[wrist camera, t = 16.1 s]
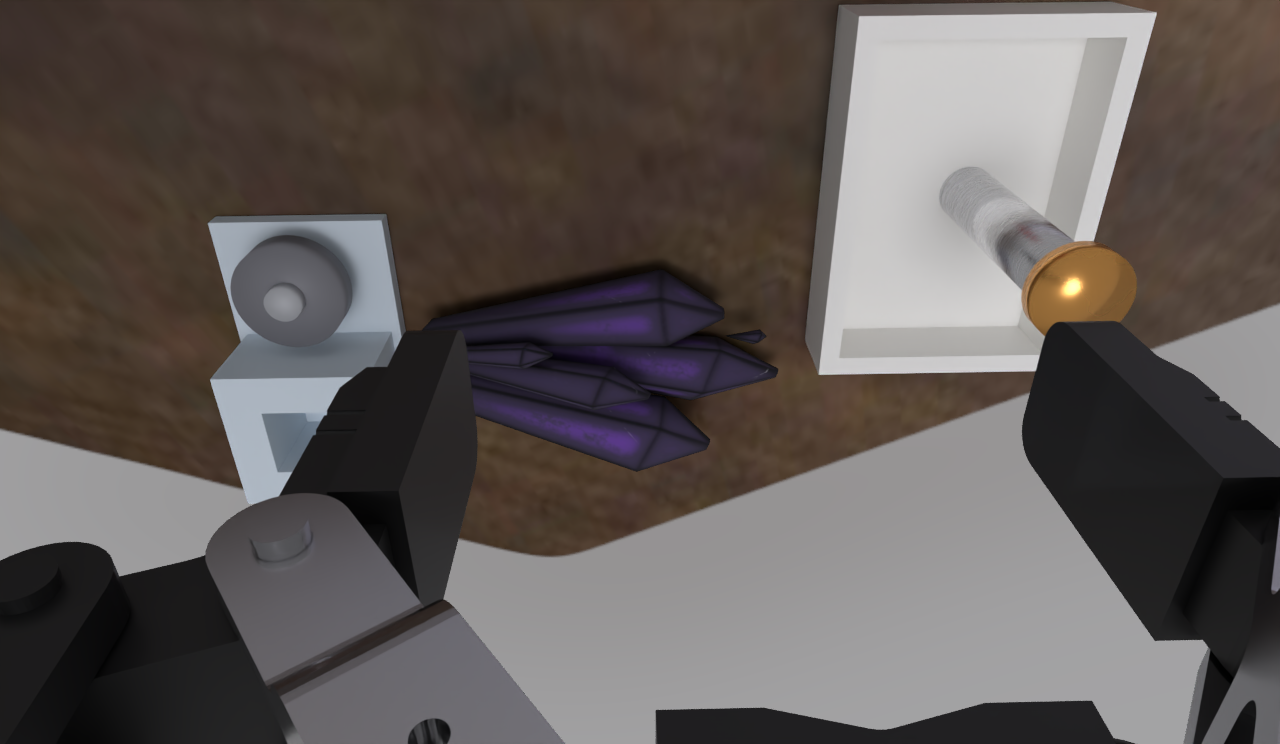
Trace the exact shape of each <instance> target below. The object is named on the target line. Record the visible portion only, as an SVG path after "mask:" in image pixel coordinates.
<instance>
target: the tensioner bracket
mask: <svg viewBox="0 0 1280 744" xmlns="http://www.w3.org/2000/svg"><path fill="white" fill-rule="evenodd" d="M208 225H209V229H210V233H211V236H212V240H213V243H214V247H215V250H216V254H217V258H218V261H219V265H220V268H221V272H222V276H223V279H224V283H225V286H226V290H227V294H228V297H229V301H230V304H231V308H232V311H233V315H234V319H235V322H236V326H237V329H238V333H239V337H240V340H241V343H240V344H239V345H238V346H237V348H236V349H235V350H234V351H233V352H232V354H231V355H230V356H229V357H228V358H227V360H226V361H225V362H224V363H223V364H222V366H221V367H220V368H219V369H218V370H217V372H216V373H215V374H214V375H213V376H212V378H211V379H210V381H211V385H212V388H213V391H214V394H215V398H216V401H217V404H218V407H219V411H220V414H221V417H222V420H223V424H224V427H225V430H226V433H227V437H228V440H229V443H230V446H231V450H232V453H233V456H234V459H235V463H236V466H237V469H238V472H239V476H240V479H241V482H242V485H243V489H244V492H245V495H246V498H247V502H248V504H251V503H252V504H253V503H254V504H256V503H259V502H261V501H264V500H267V499H270V498H274V497H278V496H279V495H280V493H281V491H282V490H283V488H284V486H285V484H286V482H287V481H288V479H289V477H290V475H291V474H292V472H293V470H294V468H295V466H296V465H297V463H298V461H299V459H300V457H301V456H302V454H303V452H304V450H305V449H306V447H307V445H308V443H309V441H310V440H311V438H312V436H313V435H316V429H317V427H318V425H319V424H320V422H321V420H322V418H323V416H324V415H327V409H328V408H329V406H330V404H331V402H332V400H333V399H334V397H335V395H336V393H337V392H338V390H339V388H340V387H341V386H342V385H344V384H345V383H346V382H348V381H349V380H350V379H352V378H353V377H354V376H356V375H357V374H358V373H359V372H361V371H362V370H363V369H365V368H366V367H388V364H389V362H390V360H391V358H392V356H393V354H394V352H395V350H396V348H397V346H398V344H399V342H400V340H401V338H402V336H403V334H404V333H405V332H406V329H405V323H404V317H403V311H402V305H401V299H400V293H399V287H398V281H397V275H396V269H395V263H394V257H393V251H392V245H391V239H390V233H389V227H388V221H387V215H386V214H349V215H281V216H216V217H215V218H213V219H212V220H211V221H210V222H208Z"/></svg>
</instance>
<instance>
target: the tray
mask: <svg viewBox="0 0 1280 744" xmlns="http://www.w3.org/2000/svg"><path fill="white" fill-rule="evenodd" d="M1156 14H1157V13H1156V12H1152V11H1148V10H1144V9H1140V8H1135V7H1131V6H1127V5H1123V4H1119V3H1115V2H1032V3H948V4H863V5H839V7H838V17H837V27H836V37H835V47H834V57H833V67H832V76H831V86H830V96H829V106H828V116H827V126H826V136H825V146H824V156H823V165H822V175H821V185H820V195H819V205H818V215H817V225H816V235H815V245H814V255H813V264H812V274H811V284H810V294H809V304H808V314H807V324H806V334H805V342H806V344H807V347H808V349H809V352H810V354H811V357H812V359H813V362H814V364H815V367H816V369H817V372H818V374H819V375H830V374H890V373H949V372H1008V371H1036V368H1037V364H1038V360H1039V357H1040V353H1041V349H1042V345H1043V341H1044V338H1045V336H1044V335H1043V334H1042V333H1041V332H1040V331H1039V330H1038V329H1037V328H1036V327H1035V326H1034V325H1033V324H1032V323H1031V322H1030V321H1029V319H1028V318H1027V317H1026V315H1025V313H1024V311H1023V308H1022V302H1021V294H1022V290H1021V289H1020V288H1019V287H1018V286H1017V285H1016V284H1015V283H1014V282H1013V281H1012V280H1011V279H1010V278H1009V277H1008V276H1007V275H1006V274H1005V273H1004V272H1003V271H1002V270H1001V269H1000V268H999V267H998V266H997V265H996V264H995V262H994V261H993V260H992V259H991V258H990V257H989V256H988V255H987V254H986V253H985V252H984V251H983V250H982V249H981V248H980V247H979V246H978V245H977V244H976V243H975V242H974V241H973V240H972V239H971V238H970V237H969V236H968V235H967V234H966V233H965V232H964V231H963V230H962V229H961V228H960V227H959V226H958V225H957V224H956V223H955V222H954V221H953V220H952V219H951V218H950V217H949V216H948V215H947V214H946V213H945V212H944V210H943V209H942V207H941V205H940V201H939V194H940V190H941V187H942V185H943V183H944V182H945V180H946V179H947V178H948V177H949V176H950V175H951V174H952V173H953V172H955V171H957V170H959V169H961V168H964V167H971V166H972V167H979V168H981V169H983V170H985V171H986V172H988V173H989V174H990V175H991V176H993V177H994V178H995V179H996V180H998V181H999V182H1000V183H1001V184H1003V185H1004V186H1005V187H1007V188H1008V189H1009V190H1010V191H1012V192H1013V193H1014V194H1015V195H1017V196H1018V197H1019V198H1020V199H1022V200H1023V201H1024V202H1026V203H1027V204H1028V205H1029V206H1031V207H1032V208H1033V209H1034V210H1036V211H1037V212H1038V213H1039V214H1041V215H1042V216H1043V217H1045V218H1046V219H1047V220H1048V221H1050V222H1051V223H1052V224H1053V225H1055V226H1056V227H1057V228H1058V229H1060V230H1061V231H1062V232H1064V233H1065V234H1066V235H1067V236H1069V237H1070V238H1071V239H1072V240H1074V241H1075V242H1077V241H1094V238H1095V234H1096V231H1097V227H1098V223H1099V220H1100V216H1101V213H1102V209H1103V205H1104V202H1105V198H1106V195H1107V191H1108V187H1109V184H1110V180H1111V176H1112V173H1113V169H1114V166H1115V162H1116V158H1117V155H1118V151H1119V148H1120V144H1121V140H1122V137H1123V133H1124V130H1125V126H1126V122H1127V119H1128V115H1129V111H1130V108H1131V104H1132V101H1133V97H1134V93H1135V90H1136V86H1137V83H1138V79H1139V75H1140V72H1141V68H1142V65H1143V61H1144V57H1145V54H1146V50H1147V46H1148V43H1149V39H1150V36H1151V32H1152V28H1153V25H1154V21H1155V18H1156Z"/></svg>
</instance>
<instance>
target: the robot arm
mask: <svg viewBox="0 0 1280 744" xmlns="http://www.w3.org/2000/svg"><path fill="white" fill-rule="evenodd" d="M1219 398H1220V397H1219V396H1218V395H1217V394H1216V393H1215V392H1213V391H1212V390H1211V389H1210V388H1209V387H1208V386H1206V385H1205V384H1204V383H1203V382H1202V381H1201V380H1199V379H1198V378H1197V377H1196V376H1195V375H1194V374H1192V373H1190V372H1188V371H1186V370H1184V369H1182V368H1180V367H1178V366H1176V365H1174V364H1172V363H1170V362H1168V361H1166V360H1164V359H1162V358H1160V357H1158V356H1157V355H1155V354H1154V353H1153V352H1152V351H1151V350H1150V349H1149V348H1148V347H1147V346H1145V345H1144V344H1143V343H1142V342H1141V341H1140V340H1139V339H1137V338H1136V337H1135V336H1134V335H1133V334H1132V333H1131V332H1129V331H1128V330H1127V329H1126V328H1125V327H1124V326H1123V325H1121V324H1120V323H1119V322H1116V321H1067V322H1056V323H1055V324H1053V325H1052V326H1051V327H1050V328H1049V330H1048V331H1047V333H1046V336H1045V338H1044V341H1043V345H1042V349H1041V353H1040V357H1039V360H1038V364H1037V368H1036V372H1035V376H1034V380H1033V383H1032V387H1031V391H1030V395H1029V399H1028V402H1027V407H1026V410H1025V414H1024V418H1023V425H1022V439H1023V446H1024V450H1025V453H1026V456H1027V458H1028V461H1029V462H1030V464H1031V466H1032V467H1033V468H1034V470H1035V471H1036V473H1037V474H1038V475H1039V477H1040V478H1041V480H1042V481H1043V483H1044V484H1045V485H1046V487H1047V488H1048V489H1049V491H1050V492H1051V494H1052V495H1053V497H1054V498H1055V500H1056V501H1057V502H1058V504H1059V505H1060V507H1061V508H1062V509H1063V511H1064V512H1065V514H1066V515H1067V517H1068V518H1069V520H1070V521H1071V522H1072V524H1073V525H1074V527H1075V528H1076V529H1077V531H1078V532H1079V534H1080V535H1081V537H1082V538H1083V539H1084V541H1085V542H1086V544H1087V545H1088V547H1089V548H1090V549H1091V551H1092V552H1093V553H1094V555H1095V556H1096V558H1097V559H1098V561H1099V562H1100V563H1101V565H1102V566H1103V568H1104V569H1105V570H1106V572H1107V574H1108V575H1109V576H1110V578H1111V579H1112V581H1113V582H1114V583H1115V585H1116V586H1117V588H1118V589H1119V591H1120V592H1121V593H1122V595H1123V596H1124V598H1125V599H1126V600H1127V602H1128V603H1129V605H1130V606H1131V607H1132V609H1133V610H1134V612H1135V613H1136V614H1137V616H1138V617H1139V619H1140V620H1141V622H1142V623H1143V624H1144V626H1145V627H1146V629H1147V630H1148V632H1149V633H1150V635H1151V636H1152V637H1153V639H1154V640H1155V641H1159V640H1203V641H1204V642H1205V643H1206V644H1207V646H1208V647H1209V648H1208V650H1207V652H1206V654H1205V656H1204V658H1203V660H1202V663H1201V665H1200V667H1199V670H1198V674H1197V678H1196V684H1195V688H1194V694H1193V699H1192V704H1191V709H1190V714H1189V719H1188V724H1187V729H1186V734H1185V739H1184V744H1280V448H1279V447H1278V446H1276V445H1275V444H1274V443H1273V442H1272V441H1271V440H1269V439H1268V438H1267V437H1266V436H1265V435H1264V434H1262V433H1261V432H1260V431H1259V430H1258V429H1256V428H1255V427H1254V426H1253V425H1252V424H1251V423H1250V422H1248V421H1247V420H1241V415H1240V414H1239V413H1238V412H1237V411H1236V410H1234V409H1233V408H1232V407H1231V406H1230V405H1229V404H1227V403H1226V402H1225V401H1220V400H1219ZM476 462H477V426H476V418H475V410H474V402H473V395H472V387H471V379H470V371H469V363H468V355H467V348H466V342H465V338H464V335H463V333H462V331H461V330H435V331H406V332H405V333H404V334H403V336H402V338H401V340H400V342H399V344H398V346H397V348H396V350H395V352H394V354H393V356H392V358H391V360H390V362H389V364H388V367H366V368H365V369H363V370H362V371H361V372H359V373H358V374H357V375H356V376H354V377H353V378H352V379H350V380H349V381H348V382H346V383H345V384H344V385H342V386H341V387H340V388H339V390H338V392H337V393H336V395H335V397H334V399H333V400H332V402H331V404H330V406H329V408H328V409H327V415H324V416H323V418H322V420H321V422H320V424H319V425H318V427H317V429H316V435H313V436H312V438H311V440H310V441H309V443H308V445H307V447H306V449H305V450H304V452H303V454H302V456H301V457H300V459H299V461H298V463H297V465H296V466H295V468H294V470H293V472H292V474H291V475H290V477H289V479H288V481H287V482H286V484H285V486H284V488H283V490H282V491H281V493H280V495H279V496H278V497H274V498H270V499H267V500H264V501H261V502H259V503H256V504H254V505H252V506H250V507H248V508H246V509H244V510H242V511H241V512H239V513H237V514H236V515H234V516H233V517H231V518H230V519H229V520H227V521H226V522H225V523H224V524H223V525H222V526H221V527H220V528H219V529H218V530H217V531H216V532H215V534H214V535H213V536H212V538H211V540H210V542H209V543H208V546H207V549H206V555H204V556H202V557H199V558H195V559H192V560H188V561H184V562H180V563H175V564H172V565H167V566H163V567H158V568H154V569H150V570H145V571H141V572H137V573H132V574H128V575H124V576H120V577H119V575H118V573H117V570H116V568H115V566H114V563H113V561H112V558H111V557H110V555H109V554H108V553H107V552H106V551H105V550H104V549H102V548H100V547H98V546H96V545H92V544H89V543H81V542H63V543H54V544H48V545H44V546H39V547H36V548H32V549H29V550H25V551H22V552H20V553H17V554H14V555H12V556H9V557H7V558H5V559H3V560H1V561H0V744H565V743H564V742H563V740H562V739H561V738H560V737H559V736H558V734H557V733H556V732H555V731H554V729H553V728H552V727H551V726H550V724H549V723H548V722H547V721H546V719H545V718H544V717H543V716H542V714H541V713H540V712H539V711H538V710H537V708H536V707H535V706H534V705H533V703H532V702H531V701H530V700H529V698H528V697H527V696H526V695H525V693H524V692H523V691H522V690H521V689H520V687H519V686H518V685H517V684H516V682H515V681H514V680H513V679H512V677H511V676H510V675H509V674H508V673H507V671H506V670H505V669H504V668H503V666H502V665H501V664H500V663H499V661H498V660H497V659H496V658H495V656H494V655H493V654H492V653H491V652H490V650H489V649H488V648H487V647H486V645H485V644H484V643H483V642H482V640H481V639H480V638H479V637H478V636H477V634H476V633H475V632H474V631H473V630H472V628H471V627H470V626H469V624H468V623H467V622H466V621H465V620H464V618H463V617H462V616H461V615H460V613H459V612H458V611H457V610H456V609H455V608H454V607H453V606H452V605H451V604H450V603H449V602H447V601H446V600H443V598H444V594H445V590H446V586H447V582H448V578H449V574H450V570H451V566H452V562H453V558H454V554H455V550H456V546H457V542H458V538H459V534H460V530H461V526H462V522H463V518H464V514H465V510H466V506H467V502H468V498H469V494H470V490H471V486H472V482H473V478H474V474H475V469H476ZM656 744H1135V743H1131V742H1128V741H1125V740H1120V739H1115V738H1113V737H1112V735H1111V733H1110V732H1109V730H1108V728H1107V726H1106V724H1105V723H1104V721H1103V719H1102V718H1101V716H1100V714H1099V712H1098V711H1097V709H1096V707H1095V706H1094V704H1093V702H1092V701H1060V702H1059V701H1057V702H1009V703H983V704H980V705H977V706H973V707H969V708H965V709H962V710H958V711H955V712H951V713H947V714H944V715H940V716H936V717H933V718H929V719H925V720H922V721H918V722H915V723H911V724H908V725H904V726H900V727H897V728H893V729H887V730H875V729H868V728H863V727H858V726H853V725H848V724H843V723H838V722H833V721H828V720H823V719H818V718H812V717H807V716H802V715H797V714H792V713H787V712H782V711H777V710H772V709H767V708H733V709H732V708H730V709H686V710H685V709H684V710H656Z"/></svg>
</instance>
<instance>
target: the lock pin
mask: <svg viewBox="0 0 1280 744" xmlns="http://www.w3.org/2000/svg"><path fill="white" fill-rule="evenodd" d="M939 201H940V205H941V207H942V209H943V210H944V212H945V213H946V214H947V215H948V216H949V217H950V218H951V219H952V220H953V221H954V222H955V223H956V224H957V225H958V226H959V227H960V228H961V229H962V230H963V231H964V232H965V233H966V234H967V235H968V236H969V237H970V238H971V239H972V240H973V241H974V242H975V243H976V244H977V245H978V246H979V247H980V248H981V249H982V250H983V251H984V252H985V253H986V254H987V255H988V256H989V257H990V258H991V259H992V260H993V261H994V262H995V264H996V265H997V266H998V267H999V268H1000V269H1001V270H1002V271H1003V272H1004V273H1005V274H1006V275H1007V276H1008V277H1009V278H1010V279H1011V280H1012V281H1013V282H1014V283H1015V284H1016V285H1017V286H1018V287H1019V288H1020V289H1021V290H1022V294H1021V302H1022V308H1023V311H1024V313H1025V315H1026V317H1027V318H1028V319H1029V321H1030V322H1031V323H1032V324H1033V325H1034V326H1035V327H1036V328H1037V329H1038V330H1039V331H1040V332H1041V333H1042V334H1043V335H1044V336H1046V333H1047V331H1048V330H1049V328H1050V327H1051V326H1052V325H1053V324H1055V323H1056V322H1067V321H1116V322H1120V321H1121V320H1122V319H1123V318H1124V316H1125V315H1126V314H1127V312H1128V311H1129V309H1130V307H1131V306H1132V304H1133V301H1134V298H1135V295H1136V289H1137V280H1136V275H1135V272H1134V270H1133V268H1132V266H1131V265H1130V264H1129V263H1128V261H1127V260H1125V259H1124V258H1123V257H1121V256H1120V255H1119V254H1117V253H1116V252H1115V251H1113V250H1112V249H1111V248H1109V247H1108V246H1106V245H1104V244H1101V243H1098V242H1093V241H1077V242H1075V241H1074V240H1072V239H1071V238H1070V237H1069V236H1067V235H1066V234H1065V233H1064V232H1062V231H1061V230H1060V229H1058V228H1057V227H1056V226H1055V225H1053V224H1052V223H1051V222H1050V221H1048V220H1047V219H1046V218H1045V217H1043V216H1042V215H1041V214H1039V213H1038V212H1037V211H1036V210H1034V209H1033V208H1032V207H1031V206H1029V205H1028V204H1027V203H1026V202H1024V201H1023V200H1022V199H1020V198H1019V197H1018V196H1017V195H1015V194H1014V193H1013V192H1012V191H1010V190H1009V189H1008V188H1007V187H1005V186H1004V185H1003V184H1001V183H1000V182H999V181H998V180H996V179H995V178H994V177H993V176H991V175H990V174H989V173H988V172H986V171H985V170H983V169H981V168H979V167H972V166H971V167H964V168H961V169H959V170H957V171H955V172H953V173H952V174H951V175H950V176H949V177H948V178H947V179H946V180H945V182H944V183H943V185H942V187H941V190H940V194H939Z"/></svg>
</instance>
